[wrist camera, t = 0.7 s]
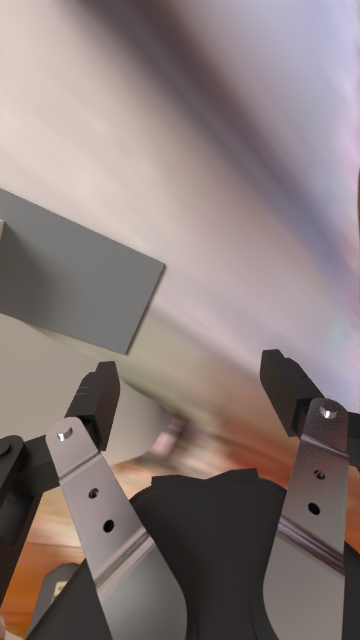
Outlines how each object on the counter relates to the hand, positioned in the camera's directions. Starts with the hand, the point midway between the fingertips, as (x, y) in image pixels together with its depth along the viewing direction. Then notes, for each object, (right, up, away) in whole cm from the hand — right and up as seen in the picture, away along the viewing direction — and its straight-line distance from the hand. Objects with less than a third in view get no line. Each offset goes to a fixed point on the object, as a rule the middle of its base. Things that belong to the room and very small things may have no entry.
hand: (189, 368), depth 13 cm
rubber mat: (-18, +9, +16) cm, 26 cm away
